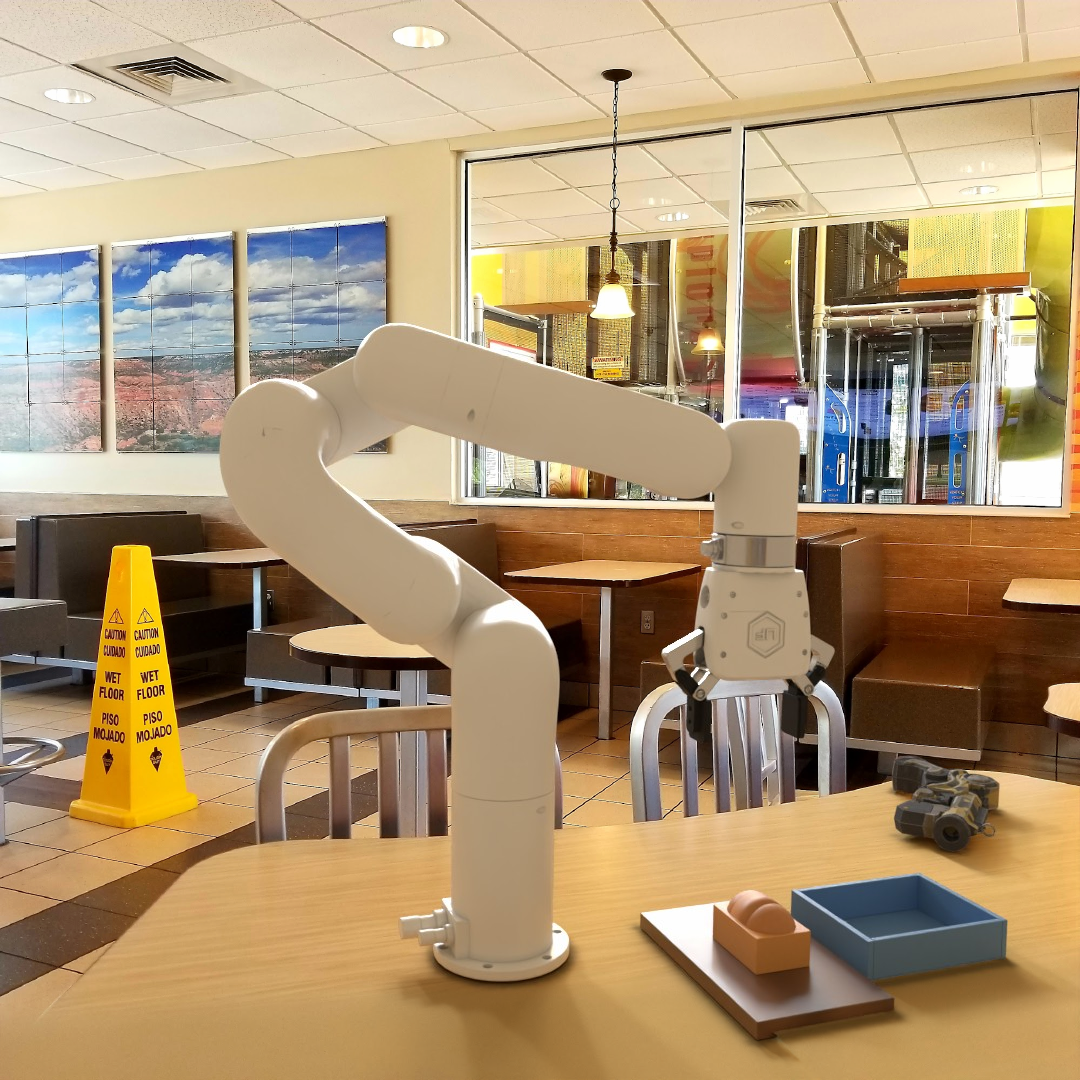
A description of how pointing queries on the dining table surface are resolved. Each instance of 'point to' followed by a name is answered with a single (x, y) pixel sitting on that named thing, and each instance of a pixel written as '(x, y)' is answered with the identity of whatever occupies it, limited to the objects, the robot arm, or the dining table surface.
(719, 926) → the bread
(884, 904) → the bin
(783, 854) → the dining table surface
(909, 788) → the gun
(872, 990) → the board
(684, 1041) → the dining table surface
